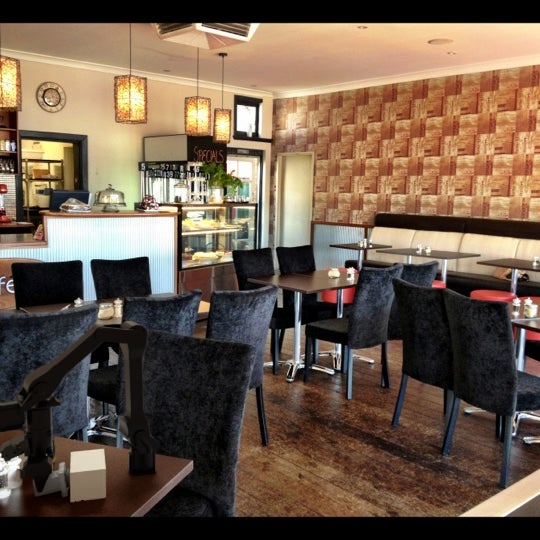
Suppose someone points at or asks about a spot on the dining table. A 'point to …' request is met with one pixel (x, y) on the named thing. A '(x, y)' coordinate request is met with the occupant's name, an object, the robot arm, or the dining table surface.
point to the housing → (87, 475)
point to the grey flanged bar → (56, 482)
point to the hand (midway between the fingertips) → (40, 488)
